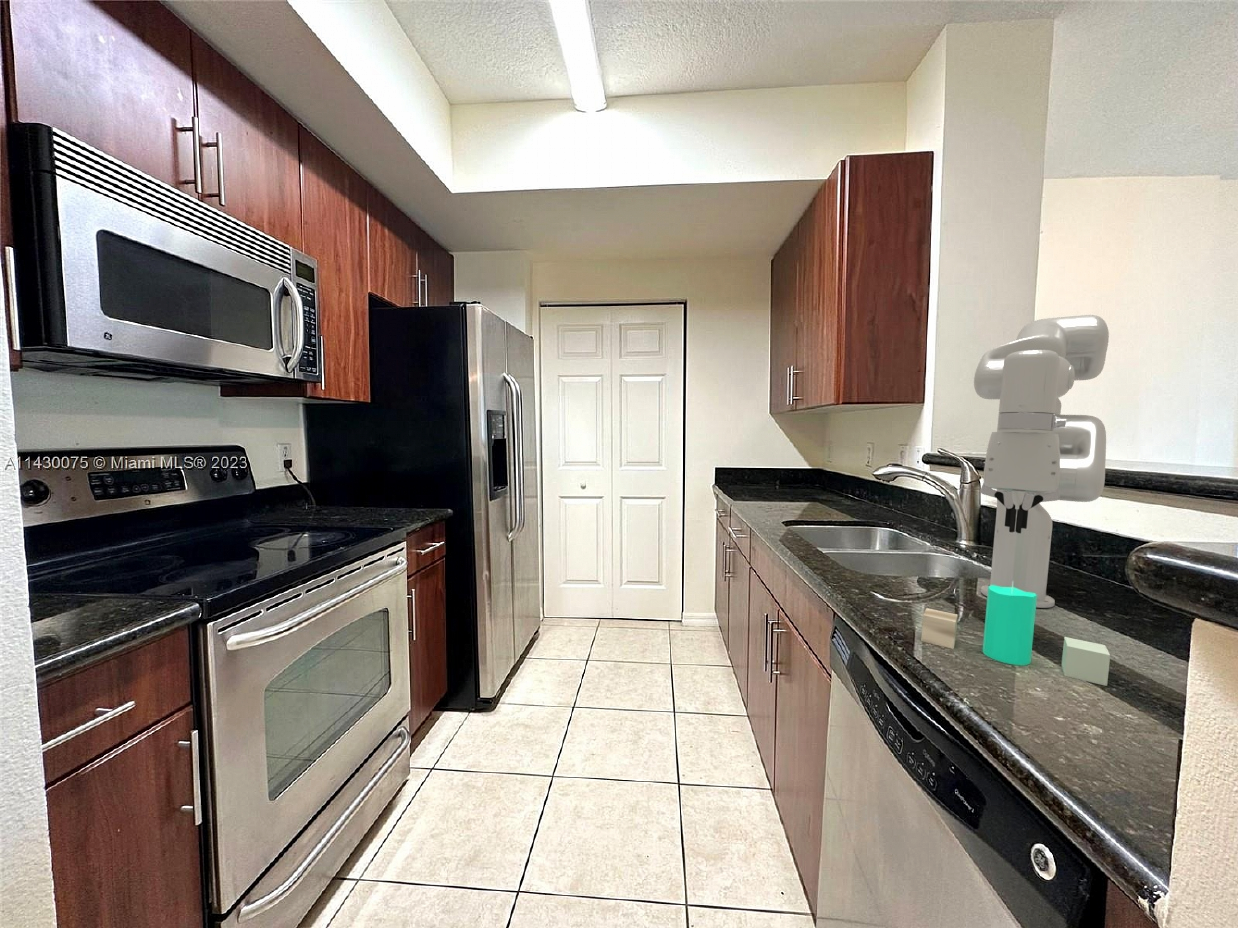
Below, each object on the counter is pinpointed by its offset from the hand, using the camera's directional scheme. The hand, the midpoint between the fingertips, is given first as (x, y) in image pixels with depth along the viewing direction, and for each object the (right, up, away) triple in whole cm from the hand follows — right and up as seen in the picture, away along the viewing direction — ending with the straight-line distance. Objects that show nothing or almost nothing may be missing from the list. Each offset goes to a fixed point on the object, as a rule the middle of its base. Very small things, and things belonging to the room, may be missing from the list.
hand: (1014, 531), depth 88 cm
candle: (-8, -19, -8) cm, 22 cm away
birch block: (-15, -18, -3) cm, 23 cm away
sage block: (0, -19, -13) cm, 23 cm away
